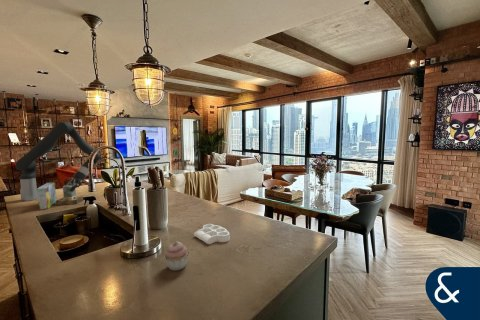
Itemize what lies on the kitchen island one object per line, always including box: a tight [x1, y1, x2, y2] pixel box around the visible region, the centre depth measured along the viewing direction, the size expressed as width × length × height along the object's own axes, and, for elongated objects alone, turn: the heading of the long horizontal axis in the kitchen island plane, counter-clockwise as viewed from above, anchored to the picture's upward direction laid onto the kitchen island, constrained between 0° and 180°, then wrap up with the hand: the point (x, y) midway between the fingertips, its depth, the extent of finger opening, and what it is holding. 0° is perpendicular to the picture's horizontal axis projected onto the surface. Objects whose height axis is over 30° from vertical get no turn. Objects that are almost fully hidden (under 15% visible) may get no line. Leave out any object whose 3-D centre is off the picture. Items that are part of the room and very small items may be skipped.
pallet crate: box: [62, 184, 78, 200], centre depth 177 cm, size 6×6×10 cm
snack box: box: [36, 182, 58, 211], centre depth 171 cm, size 21×6×15 cm, turn 25°
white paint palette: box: [193, 223, 231, 245], centre depth 114 cm, size 3×18×15 cm
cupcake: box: [163, 241, 190, 272], centre depth 88 cm, size 9×9×10 cm
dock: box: [55, 196, 84, 206], centre depth 178 cm, size 14×10×3 cm
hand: (67, 190), depth 176 cm, fingers open, 8 cm apart
